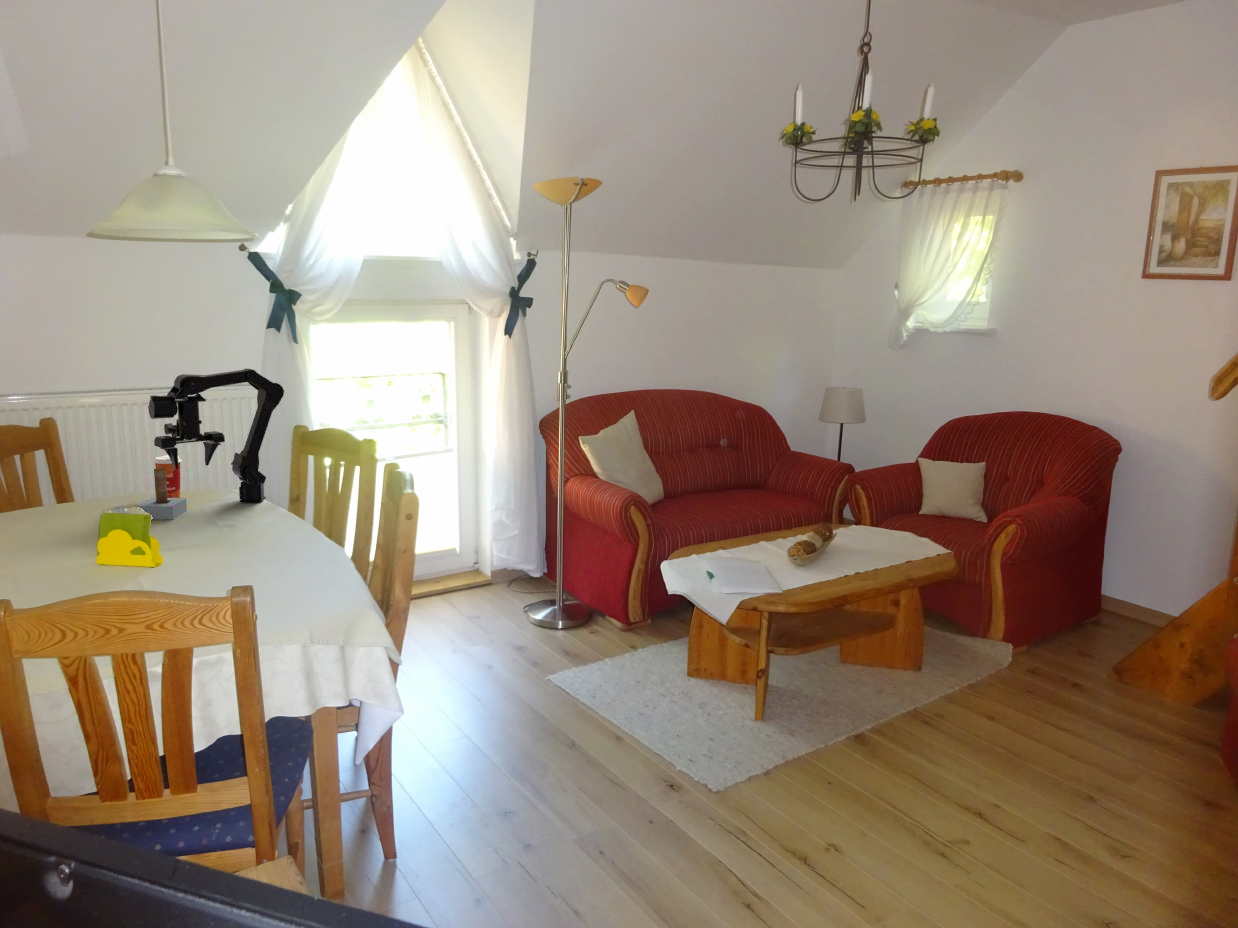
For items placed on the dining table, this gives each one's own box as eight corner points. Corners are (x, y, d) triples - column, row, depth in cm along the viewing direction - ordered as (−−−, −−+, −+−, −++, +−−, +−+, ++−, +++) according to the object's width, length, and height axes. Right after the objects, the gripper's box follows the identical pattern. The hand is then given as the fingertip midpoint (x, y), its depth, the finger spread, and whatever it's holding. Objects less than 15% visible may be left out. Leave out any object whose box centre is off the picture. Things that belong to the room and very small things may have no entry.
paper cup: (150, 501, 266) (147, 458, 263) (170, 496, 273) (167, 454, 271) (170, 504, 264) (167, 460, 261) (189, 499, 271) (187, 456, 268)
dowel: (170, 511, 252) (167, 468, 250) (162, 513, 250) (159, 470, 247) (162, 509, 253) (159, 467, 251) (154, 512, 250) (151, 469, 248)
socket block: (187, 510, 257) (186, 498, 256) (173, 519, 247) (172, 506, 246) (152, 510, 256) (151, 497, 255) (137, 519, 246) (136, 505, 245)
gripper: (207, 411, 267) (209, 459, 270) (144, 416, 252) (148, 467, 255) (224, 415, 260) (226, 465, 263) (161, 420, 245) (164, 472, 248)
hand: (191, 467), depth 258 cm, fingers open, 9 cm apart
